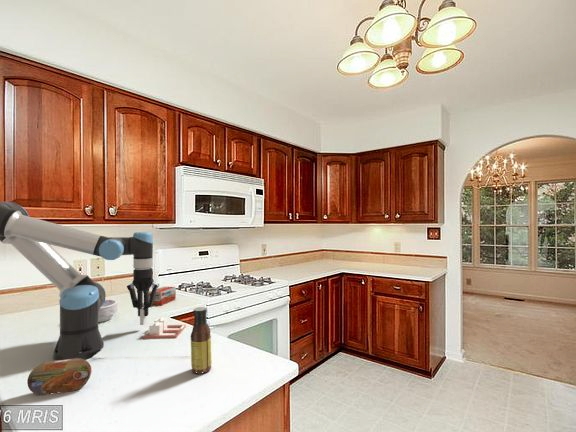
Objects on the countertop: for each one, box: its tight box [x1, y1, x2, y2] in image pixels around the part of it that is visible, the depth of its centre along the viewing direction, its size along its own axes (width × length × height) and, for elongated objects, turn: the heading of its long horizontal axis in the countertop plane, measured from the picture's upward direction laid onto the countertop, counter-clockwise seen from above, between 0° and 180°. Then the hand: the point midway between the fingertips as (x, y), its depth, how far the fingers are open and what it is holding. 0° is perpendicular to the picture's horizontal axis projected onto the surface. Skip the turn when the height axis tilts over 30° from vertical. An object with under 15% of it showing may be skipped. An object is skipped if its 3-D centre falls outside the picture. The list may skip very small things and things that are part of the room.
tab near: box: [148, 321, 164, 335], centre depth 128 cm, size 4×4×5 cm
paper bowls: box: [98, 299, 119, 323], centre depth 152 cm, size 15×15×8 cm
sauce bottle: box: [190, 306, 212, 373], centre depth 101 cm, size 6×6×20 cm
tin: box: [26, 358, 93, 396], centre depth 89 cm, size 15×3×8 cm, turn 105°
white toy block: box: [154, 316, 168, 330], centre depth 134 cm, size 4×4×5 cm
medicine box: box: [149, 286, 176, 307], centre depth 184 cm, size 15×8×8 cm, turn 169°
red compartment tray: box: [142, 324, 187, 340], centre depth 131 cm, size 13×13×2 cm
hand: (143, 323), depth 134 cm, fingers closed
